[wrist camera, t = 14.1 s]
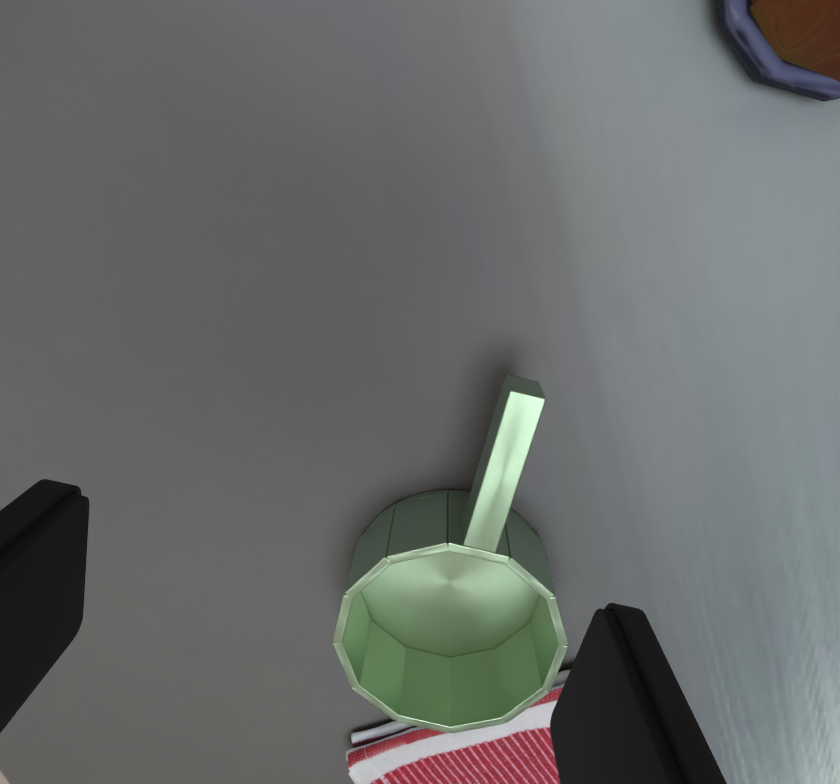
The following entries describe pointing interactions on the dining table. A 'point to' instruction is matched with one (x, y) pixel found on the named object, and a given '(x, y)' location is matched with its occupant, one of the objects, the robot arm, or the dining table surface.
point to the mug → (787, 43)
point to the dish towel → (461, 751)
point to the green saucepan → (456, 594)
